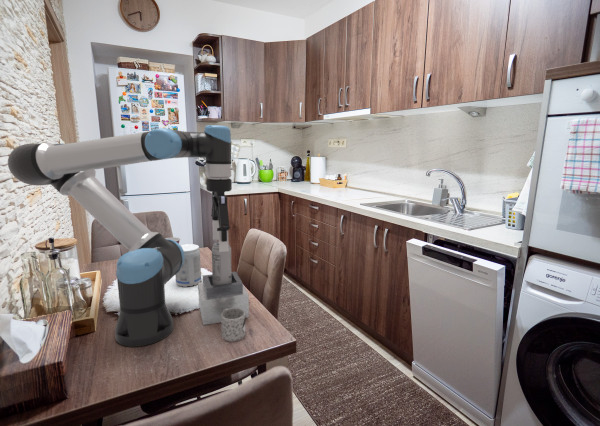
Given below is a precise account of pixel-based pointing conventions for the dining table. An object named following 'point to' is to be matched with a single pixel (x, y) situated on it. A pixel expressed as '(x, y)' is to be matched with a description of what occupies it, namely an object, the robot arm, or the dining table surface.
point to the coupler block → (221, 298)
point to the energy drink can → (221, 266)
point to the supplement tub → (190, 266)
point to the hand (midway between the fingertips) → (220, 245)
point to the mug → (233, 324)
